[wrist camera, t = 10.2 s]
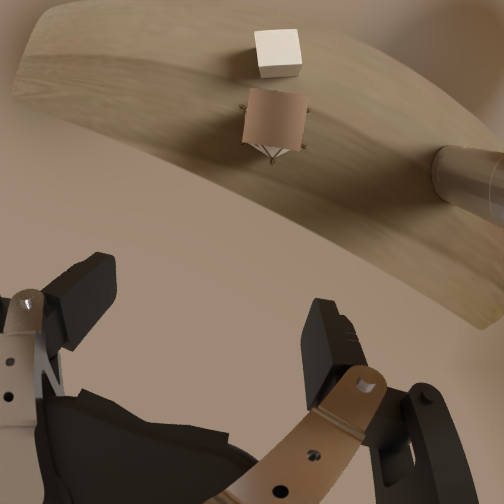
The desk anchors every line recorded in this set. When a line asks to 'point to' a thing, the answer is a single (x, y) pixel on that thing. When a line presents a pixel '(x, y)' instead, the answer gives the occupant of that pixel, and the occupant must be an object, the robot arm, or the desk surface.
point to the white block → (278, 53)
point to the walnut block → (275, 119)
